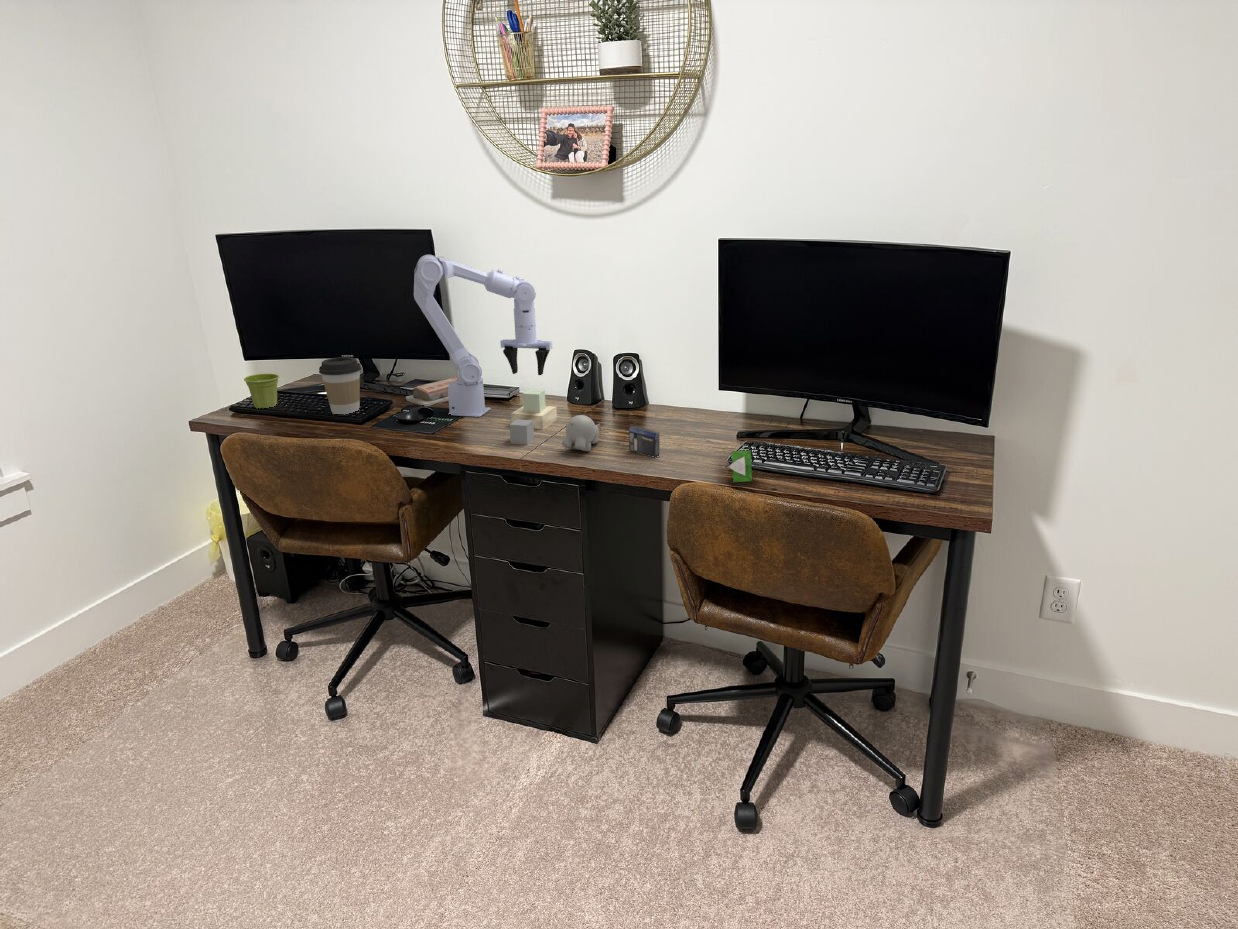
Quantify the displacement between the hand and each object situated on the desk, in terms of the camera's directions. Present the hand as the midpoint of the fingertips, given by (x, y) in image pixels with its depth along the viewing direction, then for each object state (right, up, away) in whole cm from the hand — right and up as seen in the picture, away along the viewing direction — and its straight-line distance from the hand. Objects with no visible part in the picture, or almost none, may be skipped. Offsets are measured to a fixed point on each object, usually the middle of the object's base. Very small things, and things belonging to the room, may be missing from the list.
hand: (527, 373), depth 239 cm
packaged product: (-28, -6, +16) cm, 33 cm away
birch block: (+3, -15, -10) cm, 18 cm away
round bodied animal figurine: (+17, -22, -30) cm, 41 cm away
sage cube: (+3, -11, -11) cm, 16 cm away
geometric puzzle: (+52, -29, -52) cm, 79 cm away
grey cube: (+1, -20, -24) cm, 31 cm away
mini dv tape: (+31, -23, -34) cm, 52 cm away
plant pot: (-77, -9, +10) cm, 78 cm away
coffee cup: (-51, -11, +2) cm, 53 cm away
